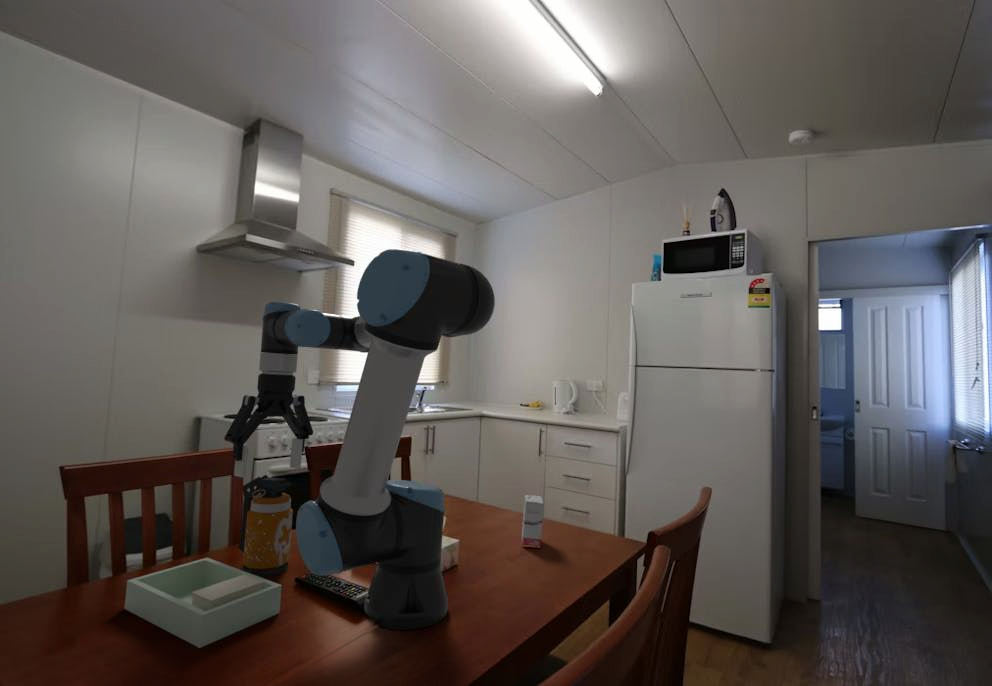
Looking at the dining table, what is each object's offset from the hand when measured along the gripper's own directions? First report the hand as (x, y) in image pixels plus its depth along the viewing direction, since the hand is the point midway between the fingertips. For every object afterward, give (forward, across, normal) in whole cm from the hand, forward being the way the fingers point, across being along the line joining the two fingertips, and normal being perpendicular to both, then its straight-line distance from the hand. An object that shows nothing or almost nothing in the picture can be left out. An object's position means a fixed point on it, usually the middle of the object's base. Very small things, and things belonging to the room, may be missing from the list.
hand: (268, 472), depth 109 cm
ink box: (+21, -54, +38) cm, 69 cm away
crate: (+21, +18, +10) cm, 29 cm away
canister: (+21, 0, 0) cm, 21 cm away
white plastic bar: (+20, +18, +16) cm, 31 cm away
